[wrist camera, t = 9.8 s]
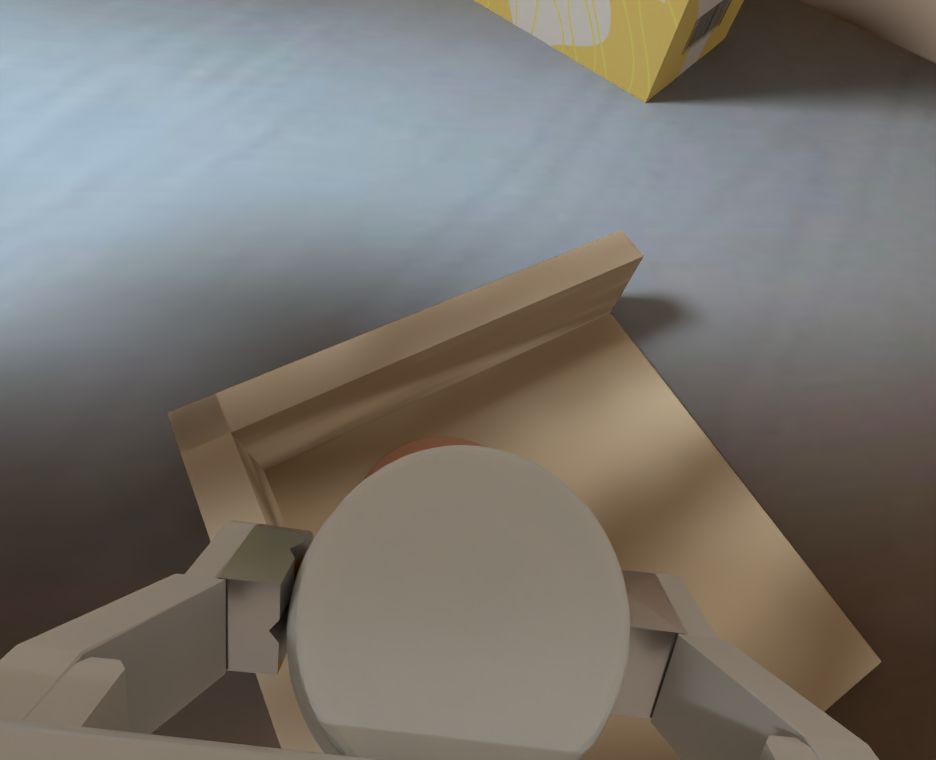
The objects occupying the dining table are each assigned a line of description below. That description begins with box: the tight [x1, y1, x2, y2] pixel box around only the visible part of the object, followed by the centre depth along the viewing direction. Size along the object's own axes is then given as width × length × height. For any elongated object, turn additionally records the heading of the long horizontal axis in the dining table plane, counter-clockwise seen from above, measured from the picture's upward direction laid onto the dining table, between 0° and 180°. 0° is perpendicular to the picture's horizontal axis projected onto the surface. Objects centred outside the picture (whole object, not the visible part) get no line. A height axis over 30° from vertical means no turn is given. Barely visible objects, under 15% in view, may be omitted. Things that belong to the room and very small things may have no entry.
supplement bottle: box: [287, 445, 630, 760], centre depth 10 cm, size 5×5×10 cm
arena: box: [167, 230, 881, 760], centre depth 18 cm, size 18×18×4 cm
